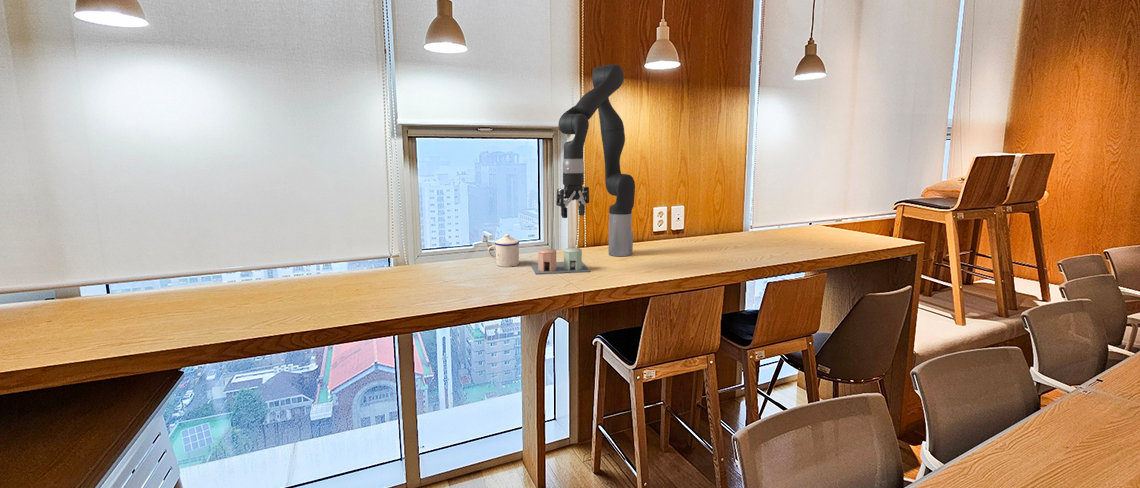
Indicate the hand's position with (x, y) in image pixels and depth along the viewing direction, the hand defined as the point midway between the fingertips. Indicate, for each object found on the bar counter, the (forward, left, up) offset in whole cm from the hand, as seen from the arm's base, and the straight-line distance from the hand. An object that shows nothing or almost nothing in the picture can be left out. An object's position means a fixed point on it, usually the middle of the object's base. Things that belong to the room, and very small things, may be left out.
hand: (573, 216), depth 198 cm
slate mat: (+3, -5, -20) cm, 20 cm away
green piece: (0, 0, -19) cm, 19 cm away
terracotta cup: (+9, -4, -19) cm, 21 cm away
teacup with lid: (+17, -22, -20) cm, 34 cm away
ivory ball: (0, 0, -19) cm, 19 cm away
